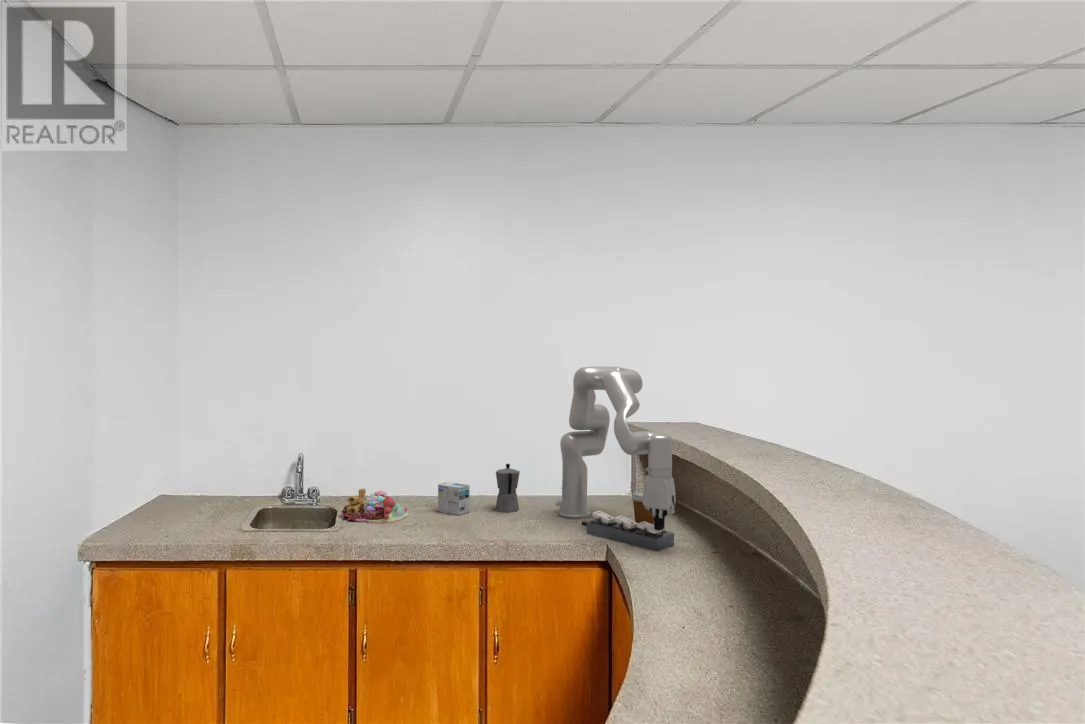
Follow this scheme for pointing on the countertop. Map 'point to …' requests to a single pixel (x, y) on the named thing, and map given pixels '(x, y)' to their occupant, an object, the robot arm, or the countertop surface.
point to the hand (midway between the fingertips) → (659, 529)
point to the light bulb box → (453, 498)
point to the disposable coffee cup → (641, 509)
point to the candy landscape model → (373, 508)
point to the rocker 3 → (648, 527)
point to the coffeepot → (507, 489)
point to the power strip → (630, 535)
